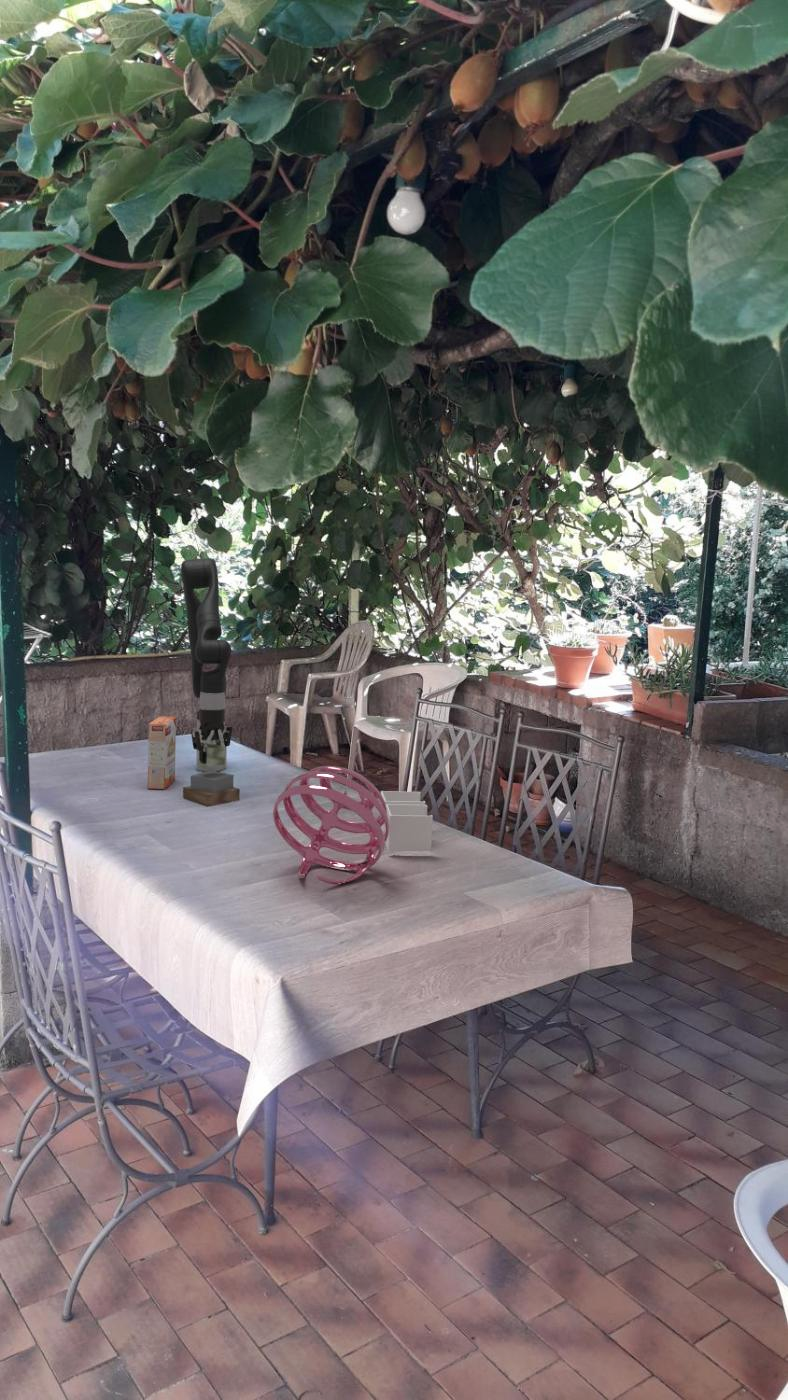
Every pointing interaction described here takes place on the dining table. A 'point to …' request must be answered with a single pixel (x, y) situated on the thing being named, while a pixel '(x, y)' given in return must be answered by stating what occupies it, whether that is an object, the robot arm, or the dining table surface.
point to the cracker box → (161, 752)
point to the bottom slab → (211, 796)
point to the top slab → (212, 781)
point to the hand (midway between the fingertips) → (211, 761)
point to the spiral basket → (334, 820)
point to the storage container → (407, 822)
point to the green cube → (215, 755)
